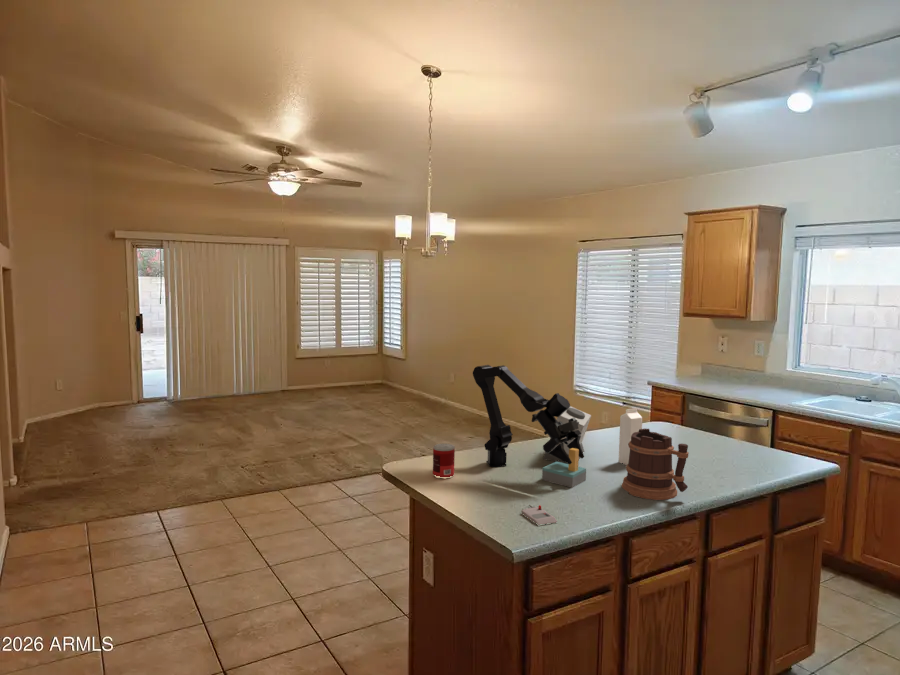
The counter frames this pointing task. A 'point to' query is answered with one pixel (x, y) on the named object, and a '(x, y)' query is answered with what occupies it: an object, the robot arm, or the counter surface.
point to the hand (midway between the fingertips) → (577, 460)
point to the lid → (567, 466)
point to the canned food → (443, 460)
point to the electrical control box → (538, 515)
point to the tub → (563, 479)
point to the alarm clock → (583, 423)
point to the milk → (628, 432)
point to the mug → (654, 466)
